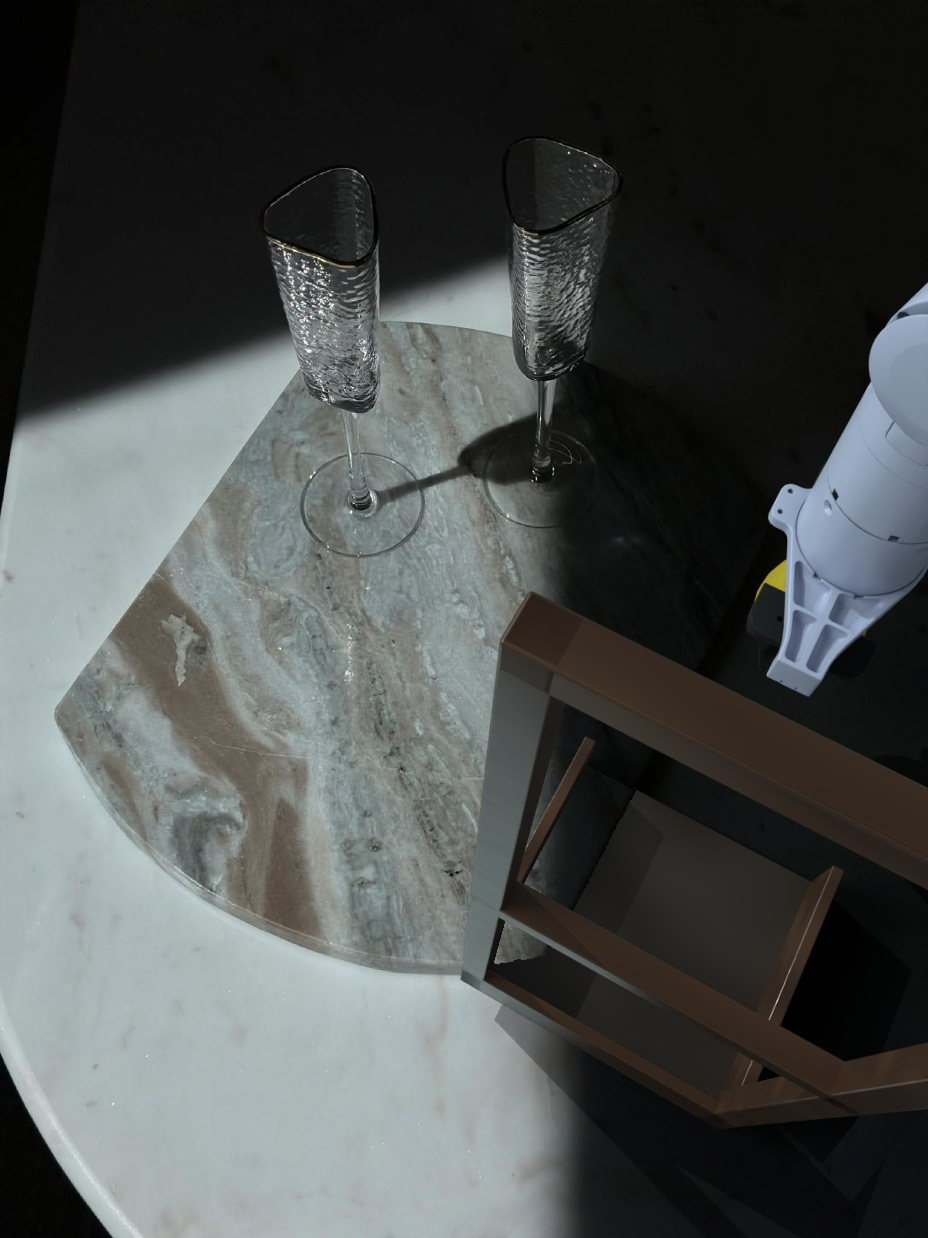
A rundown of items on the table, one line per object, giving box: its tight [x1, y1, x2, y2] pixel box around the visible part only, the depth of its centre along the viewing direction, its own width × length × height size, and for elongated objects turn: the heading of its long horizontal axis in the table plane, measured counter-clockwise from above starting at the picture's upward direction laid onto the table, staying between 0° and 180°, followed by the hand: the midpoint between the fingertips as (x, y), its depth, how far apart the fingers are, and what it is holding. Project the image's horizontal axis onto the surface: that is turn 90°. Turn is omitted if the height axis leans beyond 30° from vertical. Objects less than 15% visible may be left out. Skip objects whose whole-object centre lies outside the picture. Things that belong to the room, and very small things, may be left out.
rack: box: [459, 590, 928, 1130], centre depth 40 cm, size 13×14×42 cm
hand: (802, 624), depth 59 cm, fingers closed on lemon, 5 cm apart
